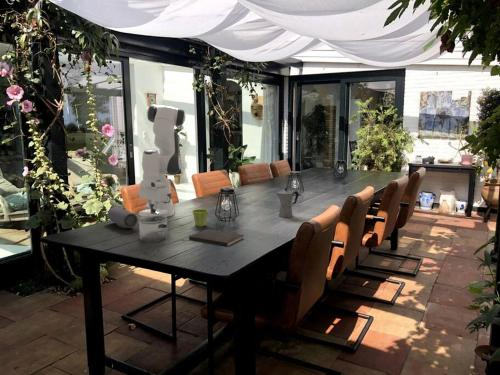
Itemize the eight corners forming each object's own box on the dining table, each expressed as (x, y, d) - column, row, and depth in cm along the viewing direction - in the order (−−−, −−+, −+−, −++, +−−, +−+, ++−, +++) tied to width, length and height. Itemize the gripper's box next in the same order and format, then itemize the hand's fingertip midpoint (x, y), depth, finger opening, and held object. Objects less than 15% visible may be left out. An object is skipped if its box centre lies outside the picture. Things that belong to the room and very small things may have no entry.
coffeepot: (278, 218, 253) (278, 189, 250) (273, 214, 262) (273, 187, 259) (301, 216, 257) (301, 188, 254) (295, 213, 266) (295, 186, 263)
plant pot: (193, 228, 229) (193, 213, 228) (191, 223, 238) (191, 209, 237) (210, 226, 232) (209, 212, 230) (207, 222, 241) (207, 208, 239)
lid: (133, 213, 208) (132, 204, 208) (158, 209, 218) (158, 200, 217) (147, 218, 198) (146, 208, 197) (173, 213, 207) (172, 204, 207)
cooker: (130, 236, 212) (129, 217, 210) (154, 231, 222) (153, 213, 221) (153, 244, 198) (152, 224, 196) (177, 238, 208) (176, 219, 207)
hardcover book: (207, 233, 221) (207, 229, 220) (243, 239, 210) (243, 234, 209) (189, 240, 207) (188, 236, 207) (227, 247, 196) (227, 242, 196)
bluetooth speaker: (139, 228, 228) (138, 211, 226) (123, 231, 222) (122, 213, 220) (122, 221, 245) (121, 205, 243) (106, 223, 239) (105, 207, 237)
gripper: (135, 180, 210) (136, 207, 212) (158, 184, 196) (159, 212, 198) (145, 179, 215) (147, 205, 217) (169, 183, 201) (170, 210, 203)
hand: (153, 208), depth 208 cm, fingers closed on lid, 3 cm apart
